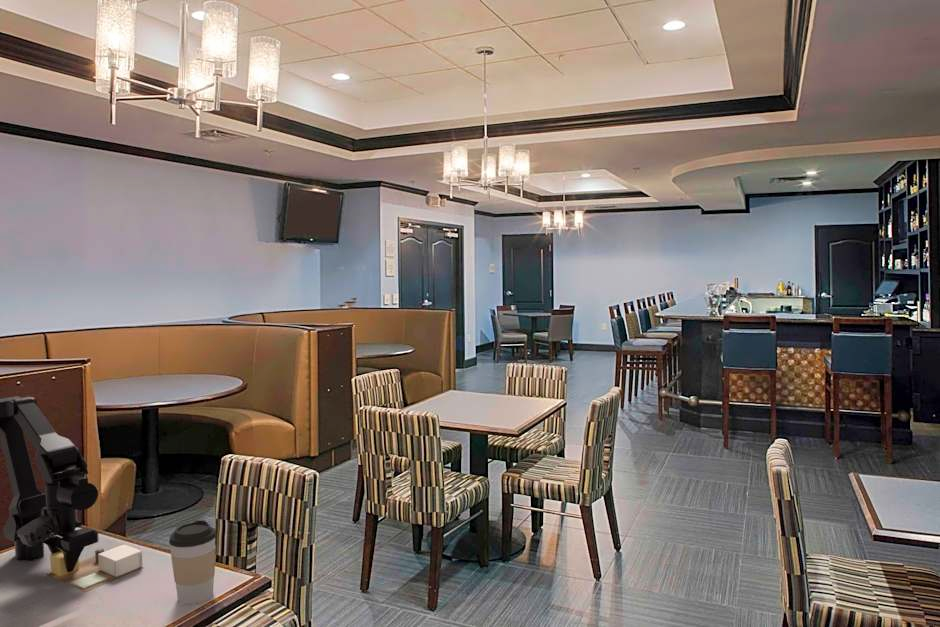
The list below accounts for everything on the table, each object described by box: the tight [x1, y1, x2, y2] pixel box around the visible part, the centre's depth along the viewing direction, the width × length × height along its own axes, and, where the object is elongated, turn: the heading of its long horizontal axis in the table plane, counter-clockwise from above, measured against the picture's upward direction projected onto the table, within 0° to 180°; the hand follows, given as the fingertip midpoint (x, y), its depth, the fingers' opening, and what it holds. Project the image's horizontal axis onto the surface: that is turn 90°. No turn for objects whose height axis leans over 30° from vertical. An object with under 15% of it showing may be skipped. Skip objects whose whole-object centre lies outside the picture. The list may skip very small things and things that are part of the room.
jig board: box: [46, 548, 144, 593], centre depth 149 cm, size 16×13×3 cm
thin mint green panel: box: [71, 573, 107, 589], centre depth 144 cm, size 5×5×1 cm
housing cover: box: [98, 544, 144, 577], centre depth 150 cm, size 7×6×4 cm
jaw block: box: [49, 551, 80, 576], centre depth 149 cm, size 4×4×4 cm
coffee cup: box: [168, 519, 217, 605], centre depth 138 cm, size 9×9×15 cm
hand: (65, 569), depth 149 cm, fingers closed on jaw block, 4 cm apart
